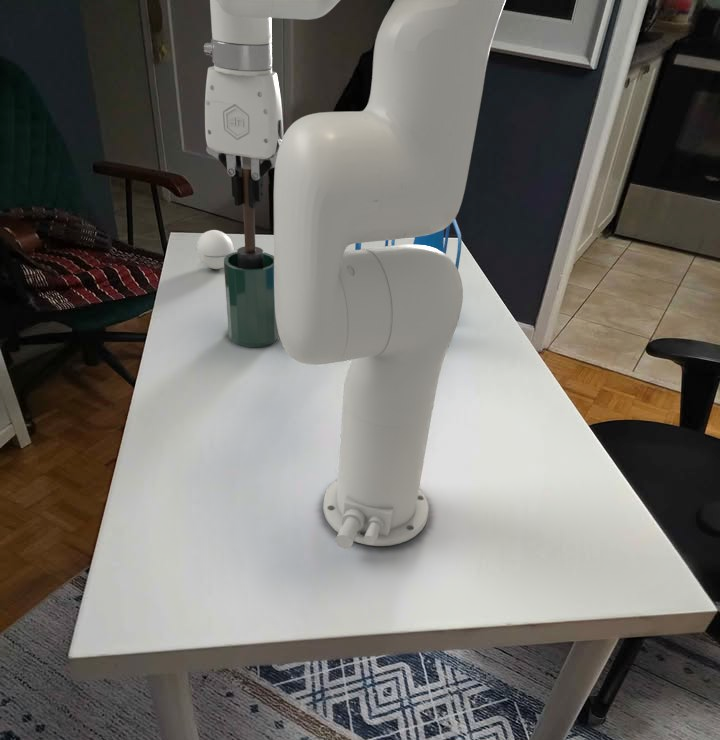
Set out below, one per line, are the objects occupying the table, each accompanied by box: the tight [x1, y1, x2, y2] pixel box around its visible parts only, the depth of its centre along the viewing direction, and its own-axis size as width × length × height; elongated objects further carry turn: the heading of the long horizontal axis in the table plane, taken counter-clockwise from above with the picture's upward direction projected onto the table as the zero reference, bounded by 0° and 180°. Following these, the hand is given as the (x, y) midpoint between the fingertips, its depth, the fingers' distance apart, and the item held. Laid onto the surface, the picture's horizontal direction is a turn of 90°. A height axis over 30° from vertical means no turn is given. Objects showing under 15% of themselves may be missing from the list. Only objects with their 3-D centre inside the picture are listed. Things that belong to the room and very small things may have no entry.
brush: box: [236, 166, 264, 269], centre depth 99 cm, size 4×4×18 cm
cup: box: [223, 251, 279, 348], centre depth 105 cm, size 8×8×13 cm
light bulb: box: [195, 229, 239, 270], centre depth 128 cm, size 10×7×7 cm
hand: (248, 203), depth 96 cm, fingers closed on brush
